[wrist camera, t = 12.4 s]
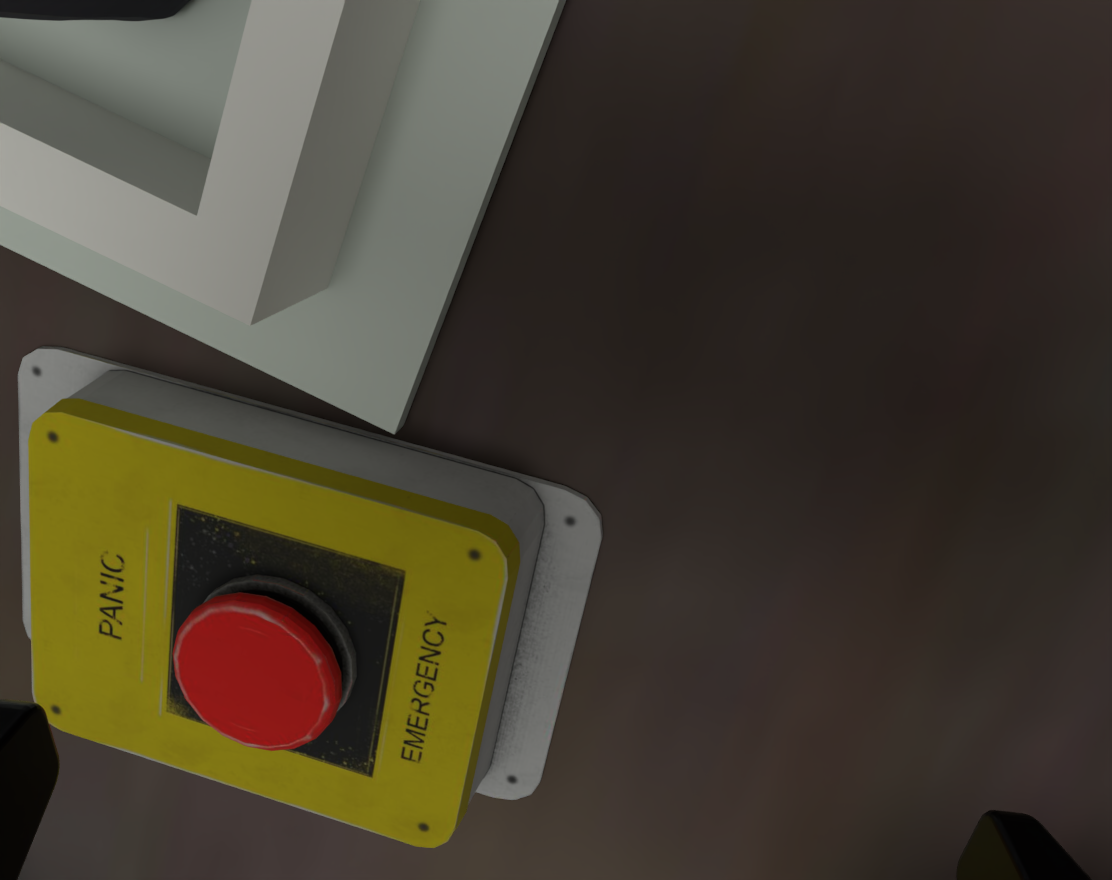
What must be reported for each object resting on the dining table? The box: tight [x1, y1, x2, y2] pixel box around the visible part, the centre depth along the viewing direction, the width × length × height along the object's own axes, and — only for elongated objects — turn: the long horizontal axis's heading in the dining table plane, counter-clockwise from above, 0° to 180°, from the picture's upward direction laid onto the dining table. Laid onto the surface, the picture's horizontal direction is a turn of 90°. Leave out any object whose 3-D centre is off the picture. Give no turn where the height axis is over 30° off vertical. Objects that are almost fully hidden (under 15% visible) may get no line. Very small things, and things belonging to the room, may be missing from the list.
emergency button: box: [18, 346, 603, 848], centre depth 23 cm, size 9×4×15 cm
